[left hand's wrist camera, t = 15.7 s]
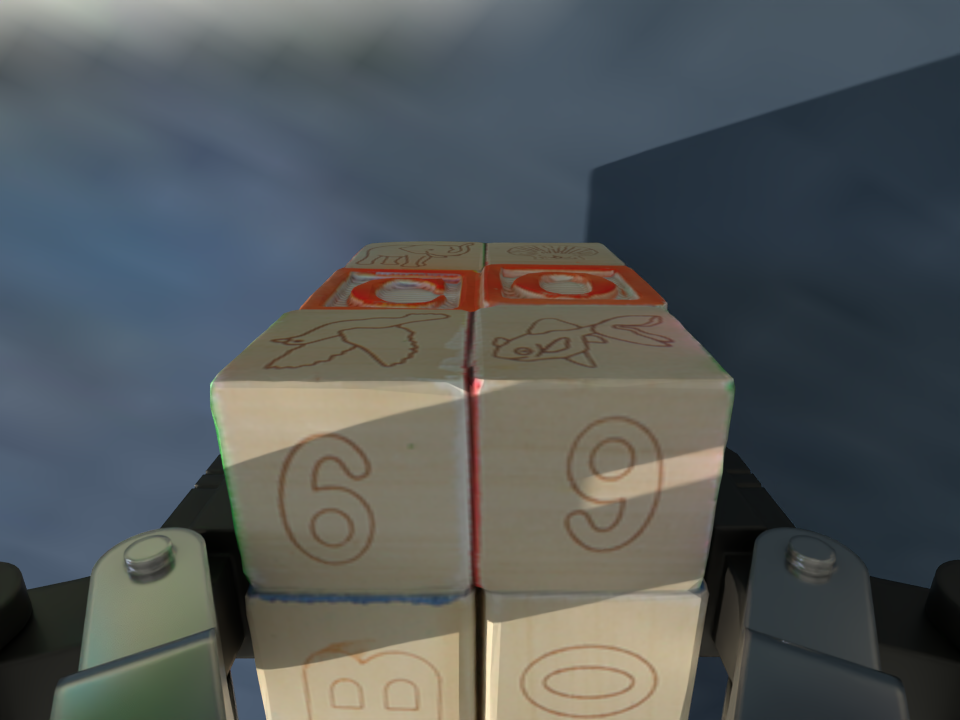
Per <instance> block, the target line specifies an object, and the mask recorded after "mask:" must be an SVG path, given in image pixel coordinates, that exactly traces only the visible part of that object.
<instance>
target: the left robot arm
mask: <svg viewBox="0 0 960 720" xmlns="http://www.w3.org/2000/svg"><path fill="white" fill-rule="evenodd" d="M703 578H704V580H705V582H706V584H707V588H708V592H709V597H708V603H707V609H706V615H705V621H704V627H703V633H702V639H701V645H700V651H699V657H720V658H721V660H722V662H723V664H724V666H725V669H726V671H727V673H728V675H729V676H728V681H727V686H726V692H725V699H724V705H723V712H722V718H721V720H960V560H953V561H948V562H945V563H943V564H942V565H940V566H939V567H938V569H937V570H936V573H935V576H934V579H933V582H932V585H931V588H930V589H928V588H923V587H919V586H914V585H909V584H904V583H899V582H894V581H890V580H885V579H880V578H876V577H872V576H869V572H868V569H867V567H866V565H865V564H864V562H863V561H862V560H861V559H860V557H859V556H857V555H856V554H855V553H854V552H853V551H852V550H850V549H849V548H848V547H846V546H845V545H843V544H841V543H840V542H838V541H836V540H834V539H832V538H830V537H827V536H825V535H822V534H820V533H816V532H813V531H809V530H805V529H799V528H795V526H794V525H793V524H792V523H791V521H790V520H789V519H788V517H787V516H786V515H785V514H784V512H783V511H782V510H781V509H780V507H779V506H778V505H777V504H776V502H775V501H774V500H773V499H772V497H771V496H770V495H769V493H768V492H767V491H766V490H765V488H761V483H760V482H759V481H758V480H757V478H756V477H755V476H754V475H753V474H750V469H749V468H748V467H747V466H746V464H745V463H744V462H743V461H742V459H741V458H740V457H739V456H738V454H736V453H735V452H733V451H732V450H730V449H728V448H727V447H726V448H725V452H724V462H723V473H722V478H721V483H720V488H719V493H718V498H717V503H716V509H715V517H714V524H713V531H712V537H711V543H710V548H709V554H708V559H707V564H706V569H705V573H704V577H703ZM249 584H250V583H249V581H248V579H247V578H246V576H245V574H244V573H243V567H242V560H241V556H240V552H239V549H238V544H237V540H236V535H235V530H234V525H233V518H232V512H231V505H230V500H229V495H228V490H227V485H226V480H225V475H224V470H223V464H222V459H221V454H220V455H219V456H218V457H217V458H216V459H215V461H214V462H213V463H212V464H211V465H210V467H209V468H208V469H207V470H206V475H202V477H201V478H200V479H199V480H198V482H197V483H196V484H195V489H191V490H190V492H189V493H188V494H187V495H186V497H185V498H184V499H183V500H182V502H181V503H180V504H179V505H178V507H177V508H176V509H175V510H174V512H173V513H172V514H171V515H170V517H169V518H168V519H167V520H166V522H165V523H164V524H163V525H162V527H161V528H160V529H155V530H151V531H147V532H144V533H140V534H138V535H135V536H133V537H130V538H128V539H126V540H124V541H122V542H120V543H119V544H117V545H115V546H114V547H112V548H111V549H110V550H108V551H107V552H106V553H105V554H104V555H103V556H101V557H100V559H99V560H98V561H97V562H96V564H95V565H94V567H93V569H92V572H91V576H89V577H85V578H81V579H77V580H72V581H67V582H62V583H57V584H53V585H48V586H43V587H38V588H33V589H28V590H27V588H26V585H25V582H24V579H23V576H22V573H21V571H20V570H19V568H17V567H16V566H15V565H12V564H10V563H5V562H0V720H239V718H238V712H237V705H236V698H235V692H234V686H233V681H232V676H231V671H230V669H231V666H232V664H233V662H234V660H235V658H255V657H254V651H253V645H252V639H251V633H250V629H249V624H248V620H247V615H246V603H245V596H246V593H247V590H248V587H249Z"/></svg>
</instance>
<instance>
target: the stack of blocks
mask: <svg viewBox="0 0 960 720" xmlns="http://www.w3.org/2000/svg"><path fill="white" fill-rule="evenodd" d="M734 395H735V384H734V379H733V378H732V377H731V376H730V375H729V374H728V373H727V372H726V371H725V370H724V369H723V368H722V367H721V365H720V364H719V363H718V362H717V361H716V360H715V359H714V358H713V356H712V355H711V354H710V353H709V352H708V351H707V350H706V349H705V348H704V347H703V346H702V345H701V344H700V343H699V342H698V341H697V340H696V339H695V338H694V337H693V336H692V335H691V334H690V333H689V332H688V331H687V330H686V329H685V328H684V327H683V326H682V324H681V323H680V322H679V321H678V320H677V319H676V318H675V317H674V316H672V315H671V314H670V313H669V312H668V310H667V302H666V301H665V300H664V298H663V297H661V296H660V295H659V294H658V293H657V292H656V291H655V290H654V289H653V288H652V287H651V286H650V285H649V284H648V283H647V282H646V281H645V280H644V279H642V278H641V277H640V276H639V275H638V274H637V273H636V272H635V271H634V270H633V269H631V268H629V267H627V266H626V264H625V263H624V262H622V261H621V260H620V259H619V258H618V257H617V256H616V255H615V254H614V253H612V252H611V251H610V250H609V249H608V248H606V247H605V246H604V245H603V244H600V243H480V242H443V241H435V242H388V243H372V244H369V245H366V246H365V247H363V248H362V249H361V250H360V251H359V252H358V253H357V254H356V255H355V256H354V257H353V258H352V259H351V260H350V262H349V263H347V265H346V266H345V267H344V268H341V269H339V270H337V271H336V272H334V274H333V275H332V276H331V277H330V278H329V279H328V280H327V281H326V282H325V283H324V284H323V285H322V286H321V287H320V288H319V289H318V290H316V291H315V292H314V293H313V294H312V295H311V296H310V297H309V298H308V300H307V301H306V302H305V303H304V304H303V305H302V306H301V308H300V309H299V310H295V311H290V312H287V313H284V314H283V315H282V316H281V317H280V318H279V319H278V320H277V321H276V322H275V323H273V324H272V325H271V326H270V327H269V328H268V329H267V330H266V331H265V332H264V333H263V334H261V335H260V336H259V337H258V338H257V339H256V340H254V341H253V342H252V343H251V344H250V345H249V346H248V347H247V348H246V349H245V350H244V351H243V352H242V353H241V354H239V355H238V356H237V357H236V358H235V359H234V360H233V361H232V362H230V363H229V364H228V365H227V366H226V367H225V368H224V369H223V370H221V371H220V372H219V373H218V375H217V376H216V377H215V378H214V380H213V381H212V382H211V384H210V405H211V411H212V415H213V419H214V423H215V427H216V432H217V438H218V443H219V448H220V454H221V459H222V464H223V470H224V475H225V480H226V485H227V490H228V495H229V500H230V505H231V512H232V518H233V525H234V530H235V535H236V540H237V544H238V549H239V552H240V556H241V560H242V567H243V573H244V574H245V576H246V578H247V579H248V581H249V583H250V584H249V587H248V590H247V593H246V596H245V603H246V615H247V620H248V624H249V629H250V633H251V639H252V645H253V651H254V657H255V663H256V669H257V674H258V679H259V684H260V689H261V694H262V698H263V703H264V708H265V713H266V719H267V720H688V716H689V710H690V704H691V699H692V693H693V687H694V681H695V675H696V669H697V663H698V657H699V651H700V645H701V639H702V633H703V627H704V621H705V615H706V609H707V603H708V597H709V592H708V588H707V584H706V582H705V580H704V578H703V577H704V573H705V569H706V564H707V559H708V554H709V548H710V543H711V537H712V531H713V524H714V517H715V509H716V503H717V498H718V493H719V488H720V483H721V478H722V473H723V462H724V452H725V448H726V444H727V440H728V433H729V427H730V421H731V415H732V408H733V402H734Z"/></svg>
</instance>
